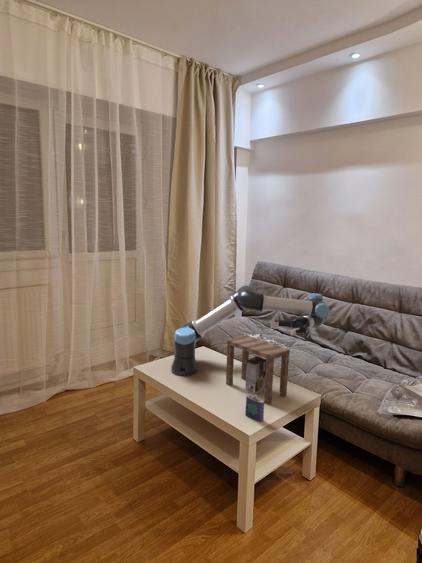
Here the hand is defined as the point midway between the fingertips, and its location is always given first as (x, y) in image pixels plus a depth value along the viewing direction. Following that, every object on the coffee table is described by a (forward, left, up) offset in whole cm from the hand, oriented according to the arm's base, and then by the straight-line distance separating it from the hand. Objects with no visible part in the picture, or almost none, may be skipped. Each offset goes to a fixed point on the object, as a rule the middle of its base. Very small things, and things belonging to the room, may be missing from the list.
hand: (280, 329), depth 199 cm
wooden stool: (0, -18, -29) cm, 34 cm away
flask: (+18, -39, -29) cm, 52 cm away
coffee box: (0, -18, -29) cm, 34 cm away
